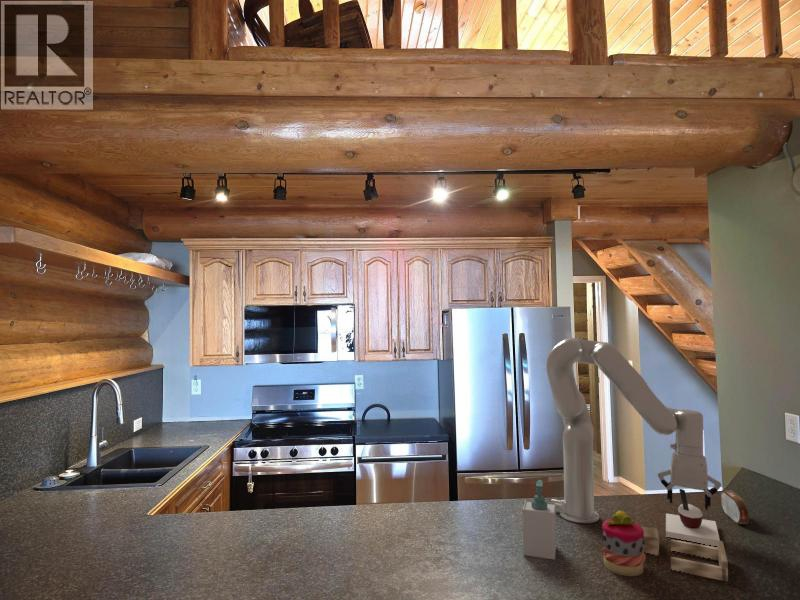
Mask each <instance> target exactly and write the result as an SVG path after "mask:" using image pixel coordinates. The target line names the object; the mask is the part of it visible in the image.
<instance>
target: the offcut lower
mask: <svg viewBox="0 0 800 600" xmlns="http://www.w3.org/2000/svg"><path fill="white" fill-rule="evenodd" d="M659 550H660V546H659V547H654V546H647V545H643V551H644V552H645V554H647V553H651V554H650V555H652V554H655V555H654V556H657V555H658V556H659V553H660V551H659Z"/></svg>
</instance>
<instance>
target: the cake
mask: <svg viewBox="0 0 800 600" xmlns="http://www.w3.org/2000/svg"><path fill="white" fill-rule="evenodd" d="M601 526H602V527H601V529H602V532H601V533H602V534H601V535H602V540H603V541H602V543H603V548H601V551H602V552H603V566H604V567H605V568H606V570H608V571H610V572H612V573H613V574H616V575H621V576H625V577H636V576H637V577H638V576H640V575H642V574H643V573H644V563H645V561H646V557H647V556H646V553H644V551H643V544H644V540H643V539H644V530H643V528H642V527H643V526H641V525H639V523H637V522H635V520H634V519H632V516H630V515H627V513H626V512H625V511H623V510H617V511H616V512H615V514H613V515H612V516H611V518H609V519H606V520H604V521H603V522H602V525H601Z"/></svg>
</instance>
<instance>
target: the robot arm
mask: <svg viewBox="0 0 800 600" xmlns="http://www.w3.org/2000/svg"><path fill="white" fill-rule="evenodd" d="M575 363H581V364H587V365H593V366H597V368H598V369H599V370H600V371H601V372H602V374H603V375H604V376H606V378H607V379H608V380H609V381H610V382H611V383H612V385H613V386H614V387H615V388H616V390H618V391H619V393H620V394H621V395H622V396H623V398H624V399H625V400H626V401H627V402H629V403H630V405H631V406H632V408H634V410H635V411H636V412H637V413H638V415H640V417H641V418H642V420H643V421H645V422H646V423H647V425H648V426H649V427H650V428H651V429H652V430H653V431H654V432H655V433H656V434H659V435H661V436H669V435H672V434H673V433H675V443H672V444H671V443H670V449H673V450H674V451H673V452H672V455H671V460H670V469H666V470H664V471H661V472H658V473H657V476H658V479H659V481H660V482H661V485H663V486H664V487H665V488H666V491H667V492H666V493H667V498H666V499H667V500H669V504H673V488H674V487H679V488H685V489H691V490H696V491H702V492H704V493H705V494H704V510H706V511H707V510H709V507H711V498H712V497H713V495H715V494H716V493H717V492H718V490H719V489H720V488H721V487H722V483H721V481H719V480H717V479H715V478H714V477H712V476H710V475H709V473H708V463H707V458H706V456H705V455H703V454H704V416H703V414H702V413H701V412H700V411H696V410H694V409H693V410H692V409H677V408H671V407H666V406H665V405H664V403H663V402H662V401H661V400H660V399H659V398H658V397H657V395H656V394H655V393H654V392H653V390H652V389H651V388H650V386H649V385H648V383H647V382H646V380H645V378H643V376H642V375H641V374H640V373H639V371H638V370H636V368H634V366H632V364H631V363H630V362H629V361H628V360H627V359H626V357H624V355H622V353H621V352H620V351H619V350H618V348H617V347H616V346H615V345H614V344H612V343H610V342H607V341H606V342H604V341H598V340H597V341H595V340H589V339H582V338H575V337H567V338H565V339H563V340H561V341H559V342H558V343H557V344H556V345H554V347H553V348H552V349H551V350H550V352H549V353H548V356H547V359H546V372H547V377H548V381H549V385H550V389H551V392H552V396H553V400H554V405H555V409H556V411H557V413H558V414H559V415H560V416H561V419H562V422H563V426H564V430H563V433H562V451H563V452H562V453H563V495H564V496H563V499H561V500H560V499H556V498H552V499H551V501H550V502H554V503H555V504H556V509H557V508H560V509H559V516H560V517H562V518H563V519H564V520H566V521H569V522H572V523H578V524H579V523H580V524H592V523H593V524H594V523H596V522H598V521H599V520H600V515H599V513H598V512H597V511H596V510H595V494H594V493H595V486H594V480H595V479H594V476H595V475H594V434H595V431H594V425H593V423H592V419H591V415H590V412H589V407H588V405H587V401H586V399H585V397H584V394H583V393H582V391H580V390H579V389H578V385H577V382H576V378H575V374H574V372H573V367H574V366H573V365H574V364H575ZM666 476H669V477H670V478H669V479H670V480H669V482H667V480H666V479H665V477H666ZM709 482H710V483H712V484H713V487H711V488H708V487H709Z"/></svg>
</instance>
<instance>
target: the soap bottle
mask: <svg viewBox="0 0 800 600" xmlns="http://www.w3.org/2000/svg"><path fill="white" fill-rule="evenodd" d="M535 483H536V484H535V492H536V493H537V494H535V495H534V497H533V499H525V500H524V504H523V507H522V555H523V556H527V557H528V556H529V557H532V558H533V557H534V558H540V559H547V560H554V561H555V560H556V552H557V551H556V550H557V533H556V532H557V526H556V525H557V520H556V519H557V514H556V512H557V511H556V509H557V507H556V504H555V503H554V502H551V501H547V500H546V498H545V496H544V495H543V494H542V493H543V488H544V485H543V484H544V483H543V480H541V479H538V480H537V481H536V482H535Z"/></svg>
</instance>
